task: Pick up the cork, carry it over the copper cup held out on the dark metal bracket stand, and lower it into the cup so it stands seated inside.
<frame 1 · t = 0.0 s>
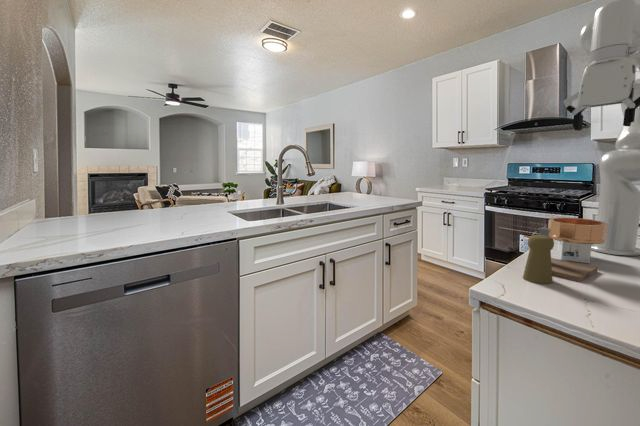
hand: (601, 128, 80), 37 cm above the counter, tool pointing down, fingers open, 9 cm apart
cork: (537, 280, 76), on the counter
light bulb box: (572, 258, 93), on the counter
cup bracket: (562, 270, 82), on the counter
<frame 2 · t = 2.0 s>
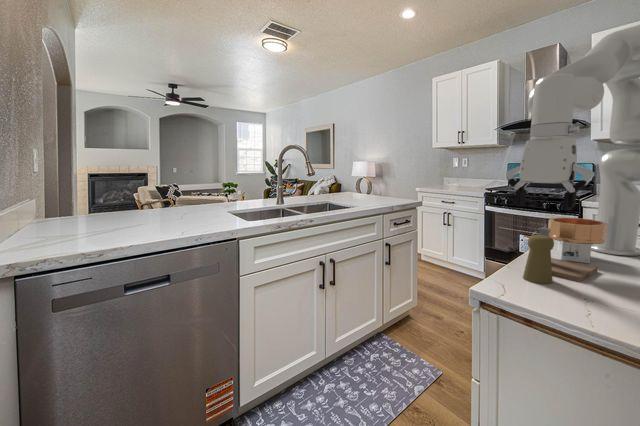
hand: (542, 207, 73), 18 cm above the counter, tool pointing down, fingers open, 9 cm apart
nothing on the counter moved.
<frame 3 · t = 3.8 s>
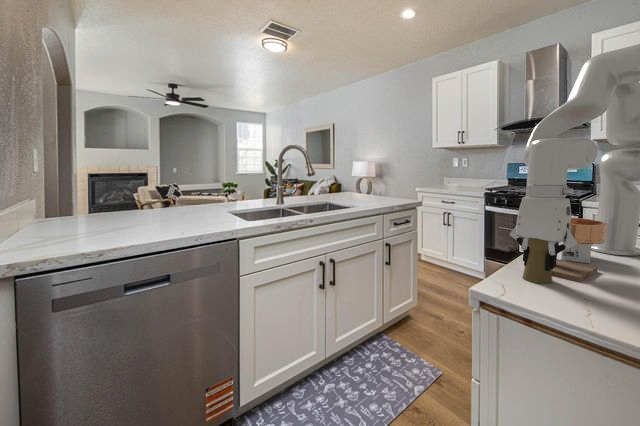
hand: (538, 266, 76), 3 cm above the counter, tool pointing down, fingers closed on cork, 3 cm apart
cork: (536, 280, 76), on the counter, touching gripper
everything else where it was.
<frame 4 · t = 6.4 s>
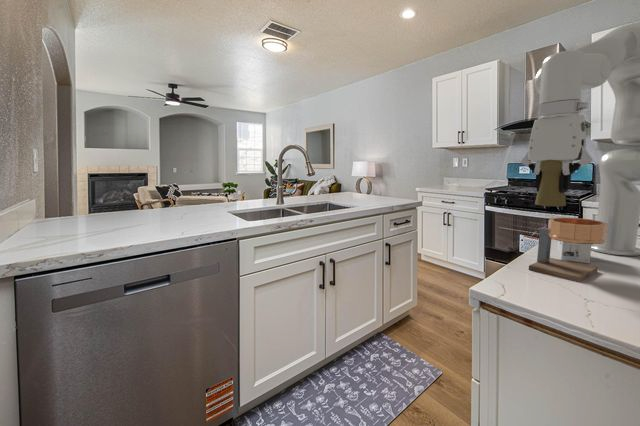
hand: (551, 190, 74), 22 cm above the counter, tool pointing down, fingers closed on cork, 3 cm apart
cork: (549, 205, 74), point 18 cm above the counter, touching gripper
everything else where it was.
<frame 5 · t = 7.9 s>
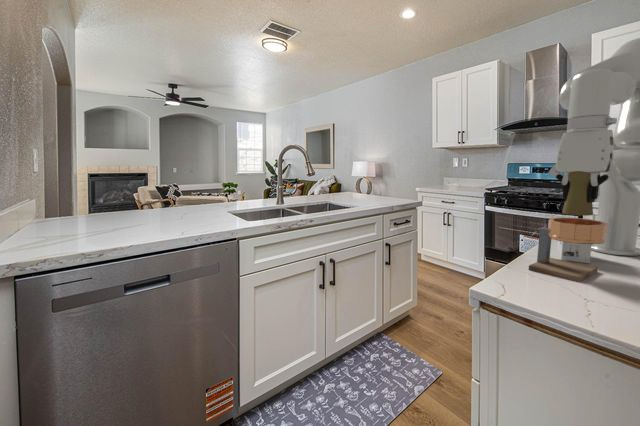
hand: (579, 200, 77), 19 cm above the counter, tool pointing down, fingers closed on cork, 3 cm apart
cork: (577, 214, 78), point 15 cm above the counter, touching gripper
everything else where it was.
when the fingers open (15 cm above the counter, at t = 9.1 s): cork drops 1 cm, resting on cup bracket.
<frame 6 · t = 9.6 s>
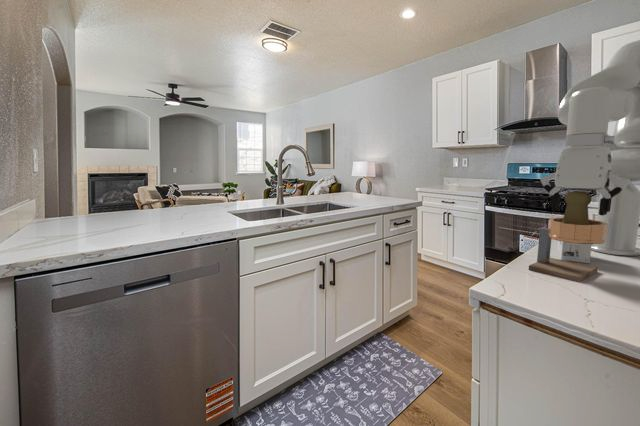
hand: (577, 212, 78), 16 cm above the counter, tool pointing down, fingers open, 9 cm apart
cork: (574, 235, 79), point 10 cm above the counter, touching cup bracket
everything else where it was.
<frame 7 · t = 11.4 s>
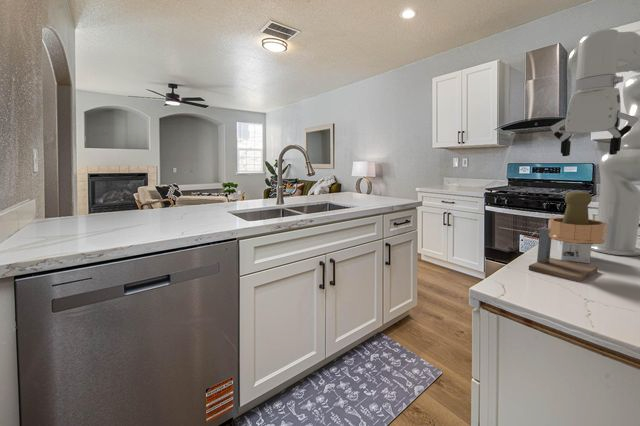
hand: (588, 155, 81), 30 cm above the counter, tool pointing down, fingers open, 9 cm apart
nothing on the counter moved.
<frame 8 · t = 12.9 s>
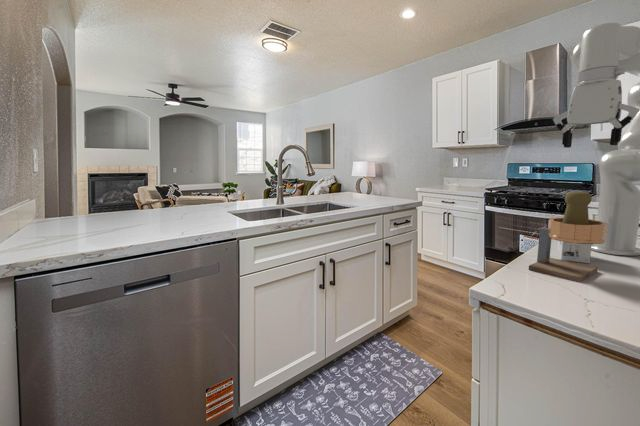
hand: (589, 146, 82), 32 cm above the counter, tool pointing down, fingers open, 9 cm apart
nothing on the counter moved.
at the end: cork 0.4 cm from the target spot on the cup bracket, point 9.8 cm above the cup bracket's base; cork tilted 0°; the gripper is holding nothing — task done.
